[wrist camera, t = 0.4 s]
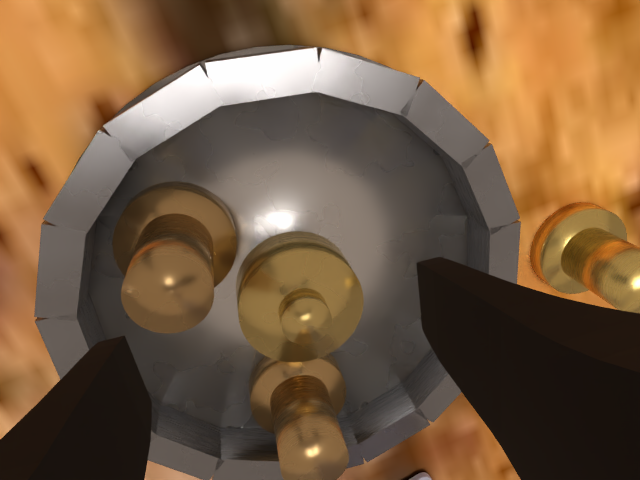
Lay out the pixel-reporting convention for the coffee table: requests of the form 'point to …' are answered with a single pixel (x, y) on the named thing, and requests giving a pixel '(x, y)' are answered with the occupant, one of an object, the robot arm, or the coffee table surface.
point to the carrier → (273, 256)
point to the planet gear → (588, 255)
